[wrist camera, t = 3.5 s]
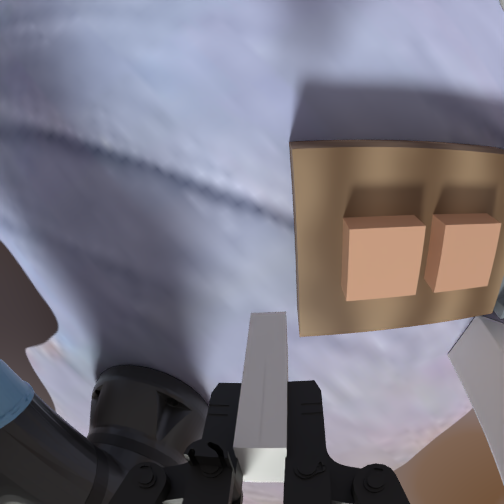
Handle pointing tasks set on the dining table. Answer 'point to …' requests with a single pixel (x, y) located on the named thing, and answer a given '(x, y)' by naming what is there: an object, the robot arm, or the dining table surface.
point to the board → (386, 204)
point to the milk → (484, 378)
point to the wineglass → (502, 4)
